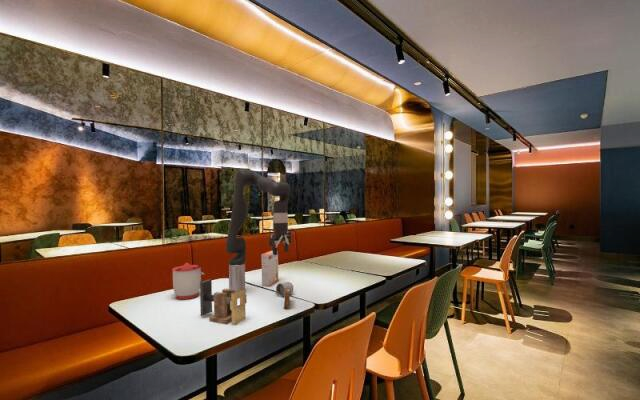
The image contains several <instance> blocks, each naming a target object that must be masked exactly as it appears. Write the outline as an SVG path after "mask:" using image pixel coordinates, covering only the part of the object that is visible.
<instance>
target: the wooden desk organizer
mask: <svg viewBox="0 0 640 400" xmlns="http://www.w3.org/2000/svg"><path fill="white" fill-rule="evenodd" d="M212 284H213V282H212V279H205V280H203V281H202V280H201V282H200V291H199V294H200V295H199V296H200V298H199V300H200V307H199V308H200V316H201V317H204V316H206V315H208V314H210V313H212V312H213V303H214V294H213V291H212V290H213V288H212V287H213V285H212ZM231 300H232V298H231V297H227V304H230V301H231Z"/></svg>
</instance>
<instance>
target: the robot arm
mask: <svg viewBox="0 0 640 400" xmlns="http://www.w3.org/2000/svg"><path fill="white" fill-rule="evenodd" d="M234 180H235V181H234V197H233V202H232V207H231V216H230V222H229V230H228V234H227V238H226V241H225V250H226V252H227V253H228V254H232V255H233V254H235V255H233V257H232V258H230V259H229V260H228V269H229V270H228V273H229V274H228V275H229V276H228V289H232V290H235V292H236V291H238V290H240V289H245V290H246V258H247V257H246V255H247V242H246V239H245V238H244V237H242V236H239V237H237V235H238V233H239V232H240V230H241V228H242V227H243V225H245V223H246V222H247V219H248V216H249V205H248V202H247V200H246V198H245V195H244V190H245V189H244V188H245V187H251V186H254V187H255V186H258V188H259V189H260V190H262V191H264V192H267V193H268V194H269V195H271V196H273V197H279V198H278V200H276V201H273V205H272V206H273V215H272V231H273V232H274V233H273V234H271V233H270V234H269V239H268V240H269V247H271V248H272V251H273V255H277V251H278V246H279V244H280V243H282V242H283V244H284V245H283V248H284V249H283V252H284V253H289V249H290V248H289V247H290V246H289V245H290V244H291V243H292V232H291V231H289V216H288V203H289V200H290V197H291V186H290V184H289V182H281V181H276V180H274V179H272V178H270V177H266V176H264V175H260V174H259V173H257V171H254V170H253V169H238V170H237V172H236V174H235V179H234Z"/></svg>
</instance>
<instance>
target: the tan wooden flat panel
mask: <svg viewBox="0 0 640 400" xmlns="http://www.w3.org/2000/svg"><path fill="white" fill-rule="evenodd" d="M231 298H232V300H231V301H230V310H232V322H231V325H234V326H235V325H237V324H239V323H240V322H242V321H243V320H246V304H248V303H247V301H248V300H247V299H248V298H247V294H246V288H245V289H240V290H238V291H236V292H234V293H231ZM238 300H239V305H238Z"/></svg>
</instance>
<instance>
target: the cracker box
mask: <svg viewBox="0 0 640 400" xmlns="http://www.w3.org/2000/svg"><path fill="white" fill-rule="evenodd" d="M278 252H279V251H278V250H277V255H273V250H270V251H266V252H264V253H261V254H260V255H261V286H262V287H271V286H273V285H275V284H276V283H277V282H279V255H278Z"/></svg>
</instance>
